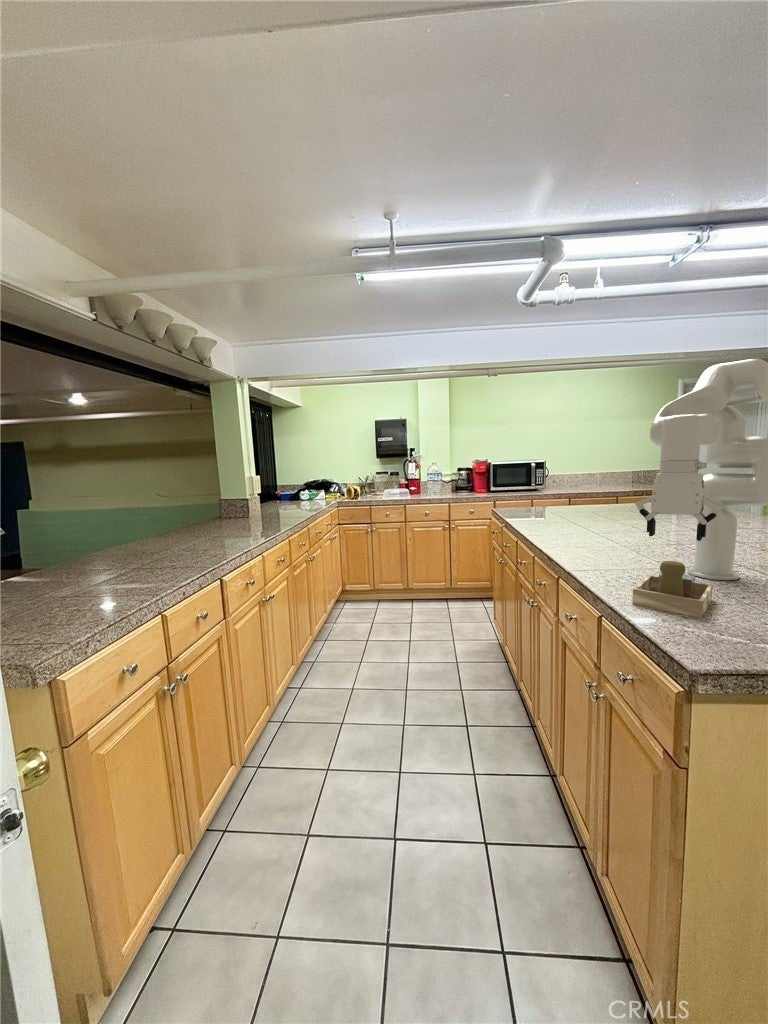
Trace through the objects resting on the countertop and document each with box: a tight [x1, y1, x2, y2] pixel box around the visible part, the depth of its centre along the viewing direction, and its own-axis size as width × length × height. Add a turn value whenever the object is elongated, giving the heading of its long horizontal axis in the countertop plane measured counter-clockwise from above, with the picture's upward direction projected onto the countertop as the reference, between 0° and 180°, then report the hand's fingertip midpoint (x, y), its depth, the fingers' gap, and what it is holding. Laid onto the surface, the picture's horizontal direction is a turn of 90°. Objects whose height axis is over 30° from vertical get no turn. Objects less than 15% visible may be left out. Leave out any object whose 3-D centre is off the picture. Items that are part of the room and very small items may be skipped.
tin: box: [658, 572, 696, 599], centre depth 107 cm, size 5×7×6 cm
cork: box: [658, 560, 686, 597], centre depth 102 cm, size 6×6×11 cm
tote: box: [632, 574, 714, 619], centre depth 104 cm, size 16×14×4 cm
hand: (674, 537), depth 101 cm, fingers open, 9 cm apart
